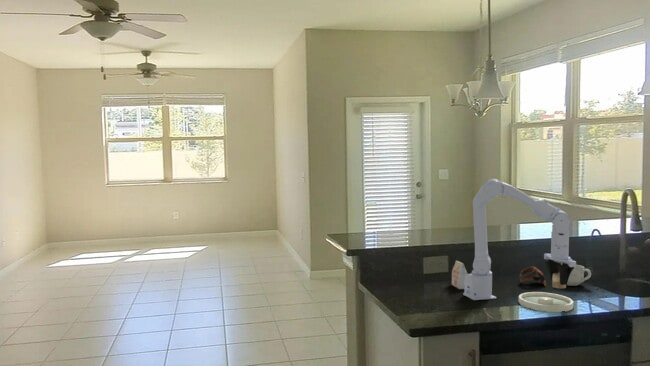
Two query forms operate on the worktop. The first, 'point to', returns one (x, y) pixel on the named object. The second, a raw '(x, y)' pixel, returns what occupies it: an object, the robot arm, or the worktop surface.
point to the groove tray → (546, 301)
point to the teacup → (578, 275)
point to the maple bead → (557, 281)
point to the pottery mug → (533, 272)
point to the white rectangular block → (458, 275)
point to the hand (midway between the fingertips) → (558, 282)
